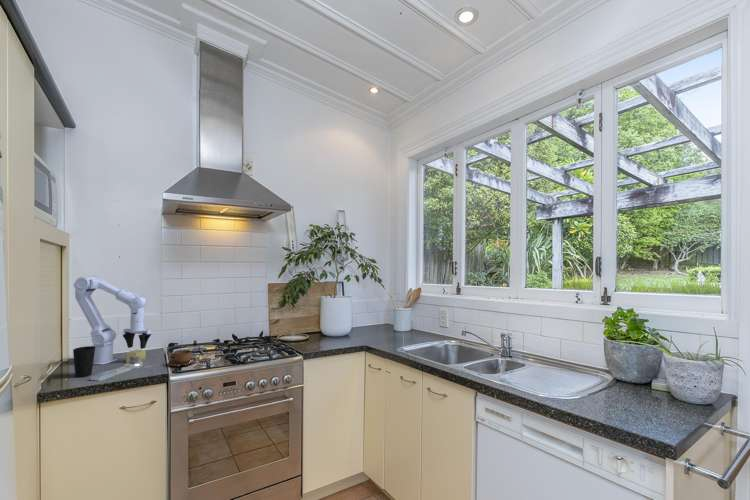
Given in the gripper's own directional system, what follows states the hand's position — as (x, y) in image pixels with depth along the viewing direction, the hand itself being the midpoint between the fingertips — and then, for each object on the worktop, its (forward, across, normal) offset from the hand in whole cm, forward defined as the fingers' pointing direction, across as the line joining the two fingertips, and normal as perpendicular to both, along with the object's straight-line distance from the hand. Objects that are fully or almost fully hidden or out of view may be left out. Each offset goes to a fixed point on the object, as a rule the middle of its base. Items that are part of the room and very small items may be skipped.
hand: (136, 347), depth 174 cm
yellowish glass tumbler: (+7, 0, 0) cm, 7 cm away
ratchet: (+7, -7, +16) cm, 19 cm away
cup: (+7, +4, +23) cm, 24 cm away
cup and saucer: (+7, -26, -1) cm, 27 cm away
